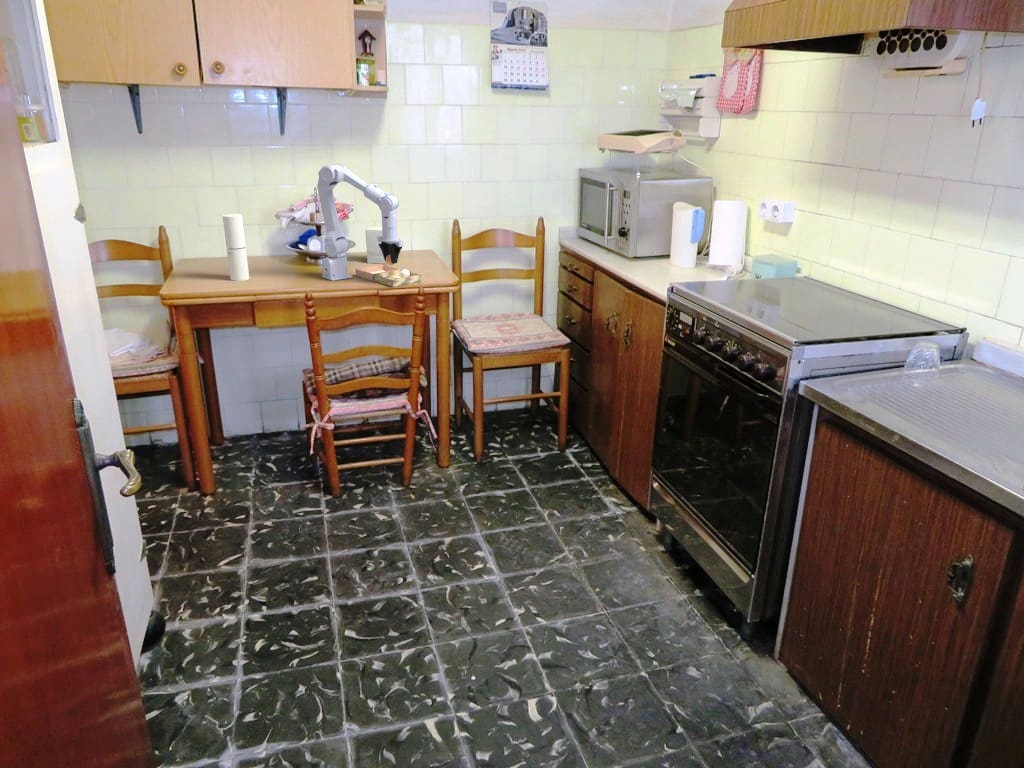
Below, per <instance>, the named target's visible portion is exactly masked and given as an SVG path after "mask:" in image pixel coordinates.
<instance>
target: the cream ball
mask: <svg viewBox="0 0 1024 768" xmlns="http://www.w3.org/2000/svg"><path fill="white" fill-rule="evenodd" d="M409 276H410V273H409V270H408V269H402V271H401V272H400V277H401V278H405V277H409Z"/></svg>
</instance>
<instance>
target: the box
mask: <svg viewBox="0 0 1024 768" xmlns="http://www.w3.org/2000/svg"><path fill="white" fill-rule="evenodd" d="M402 270H403V269H402ZM402 270H397V271H392V272H386V273H381V274H375V275H374V281H373V282H375V283H379V284H381V285H384V286H387V287H391V288H397V287H402V286H407V285H411V284H416V283H417V284H418V283H422V281H423V280H422V274H419V273H416V272H413V271H409V270H408V271H409V273H410V276H409V277H405V278H401V277H400V272H401V271H402Z"/></svg>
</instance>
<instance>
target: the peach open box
mask: <svg viewBox="0 0 1024 768" xmlns="http://www.w3.org/2000/svg"><path fill="white" fill-rule="evenodd" d="M397 270H403V269H402V268H398V267H395V266H392V265H389V264H377V265H372V266H365V267H360V268H355V276H356V277H359V278H362V279H365V280H368V281H372V282H374V275H375V274H381V273H386V272H392V271H397Z"/></svg>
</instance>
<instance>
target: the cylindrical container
mask: <svg viewBox="0 0 1024 768" xmlns="http://www.w3.org/2000/svg"><path fill="white" fill-rule="evenodd" d="M243 219H244V217H243V214H241V213H227V214H222V223H223V231H224V239H225V246H226V252H227V253H226V254H227V262H228V270H229V277H230V279H229V280H231V281H233V280H234V281H233V282H243V281H248V280H249V279H250V273H249V272H250V270H249V262H248V254H247V247H246V245H247V244H246V238H245V237H246V236H245V231H244V230H245V229H244V220H243Z"/></svg>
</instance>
